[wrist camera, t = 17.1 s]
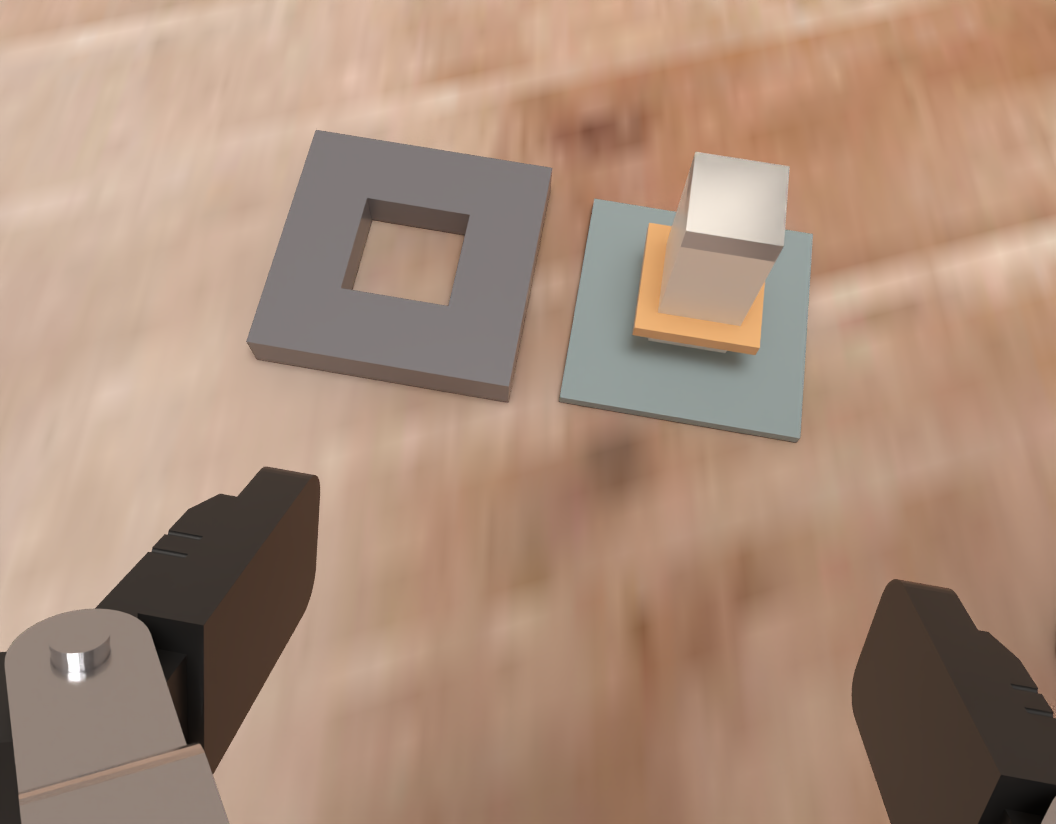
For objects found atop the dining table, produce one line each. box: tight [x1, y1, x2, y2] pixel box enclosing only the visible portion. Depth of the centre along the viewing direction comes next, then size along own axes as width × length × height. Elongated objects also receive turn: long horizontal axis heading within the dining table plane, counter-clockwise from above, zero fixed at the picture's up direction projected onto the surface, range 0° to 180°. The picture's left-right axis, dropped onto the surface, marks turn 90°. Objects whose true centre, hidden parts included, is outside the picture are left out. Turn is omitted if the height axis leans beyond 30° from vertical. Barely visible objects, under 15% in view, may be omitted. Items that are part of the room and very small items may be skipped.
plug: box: [632, 152, 789, 355], centre depth 41 cm, size 6×6×10 cm
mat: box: [559, 199, 813, 442], centre depth 46 cm, size 12×12×1 cm
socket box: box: [246, 130, 552, 402], centre depth 46 cm, size 13×13×2 cm
